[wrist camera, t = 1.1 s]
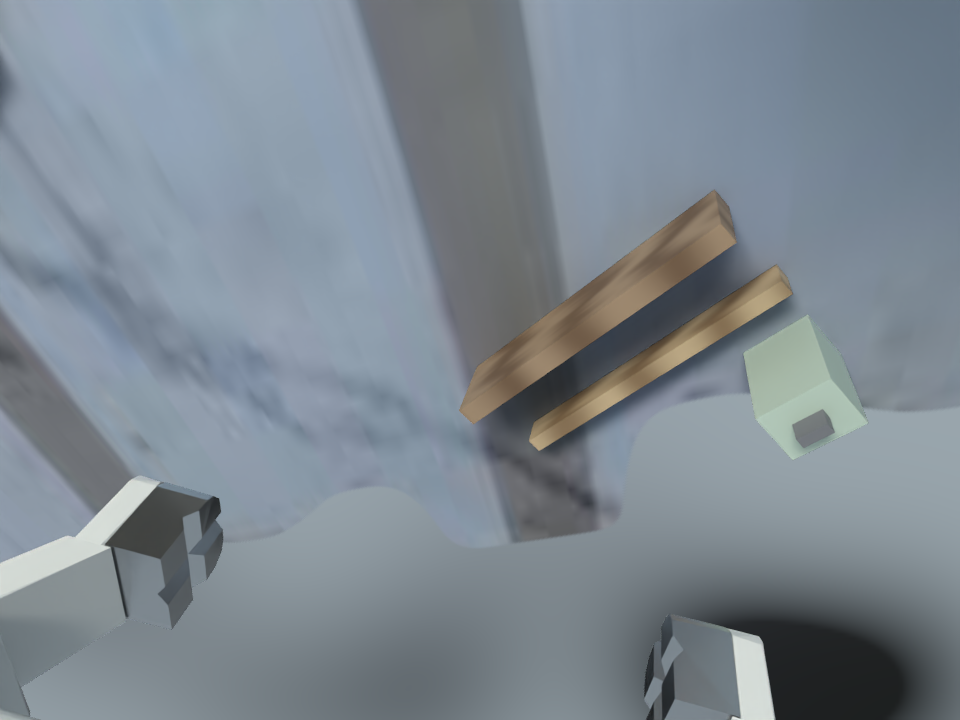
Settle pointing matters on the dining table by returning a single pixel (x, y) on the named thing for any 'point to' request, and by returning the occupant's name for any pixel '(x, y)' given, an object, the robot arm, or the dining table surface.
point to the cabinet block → (802, 389)
